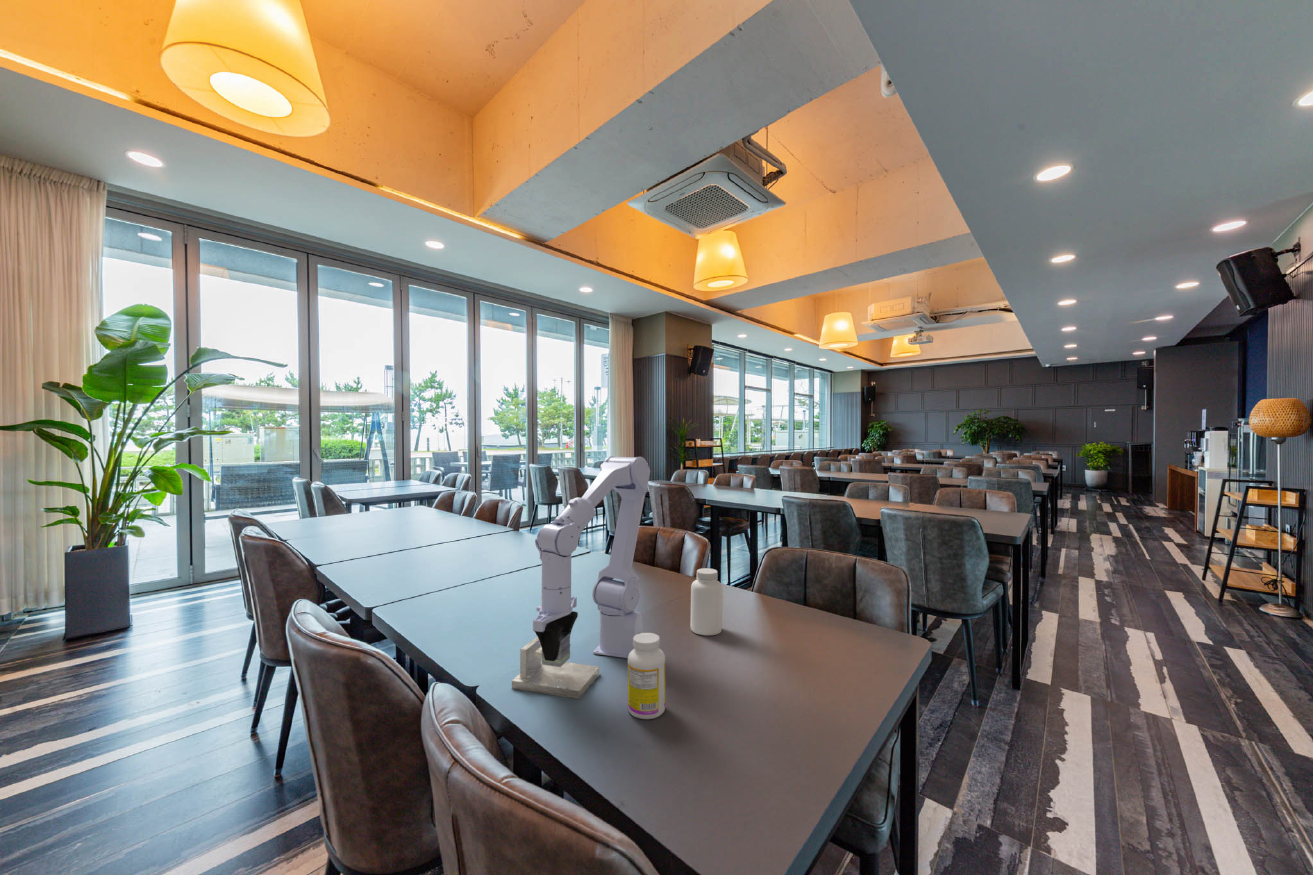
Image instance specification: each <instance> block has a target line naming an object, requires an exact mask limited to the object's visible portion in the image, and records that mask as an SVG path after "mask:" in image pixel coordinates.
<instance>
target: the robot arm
mask: <svg viewBox="0 0 1313 875" xmlns="http://www.w3.org/2000/svg"><path fill="white" fill-rule="evenodd" d="M599 469H600V470H599V473H598V474H597V476H596V477H595V478H594V480H593V481H592V483H591V484H590V485H589V487H588V488H587V490H586V491H585V492H584V494H583V495H582V496H581V497H574V498H571V499H570V500H569V501H568V504H567V505H566V507H565V508H564V509H563V510H562V511H561V512H560V513H559V514H558V516H556V517H555V518H554V520H553V521H552V523H547V524H545V525H543V526H542V528H541V529H539V531H538V533H537V536H536V539H534V543H535V547H536V549H537V550H538V552H539V559H540V561H541V604H539V605H538V606H536V608H535V609H536V612H538V613H537V615H536V617H535V619H533V621H532V632H534V633H535V634H536V637H538V638H539V641H540V643H541V647H542V651H543V655H544V658H545V660H547V661H555V660H556V657H557V652H558V643H559V638H560V635H561V632H565V633H570V635H571V634H572V631H573V627H574V625H575V622H576V621H577V618H578V616H579V612H577V611H573V609H574V608H576V607H577V605H578V604H577V602H578V601H577V600H578V599H577V596H572V554H573V553H574V552H575V551H576V550H577V547H578V545H579V539H580V538H581V535H582V532H583V531H584V530H585V529H586V527H587V526H588V524H589V523H590V522H591V521H592V520H593V518H594V517H595V514H596V510H595V508H596V506H598V504H600V503H601V501H602V500H603V499H604V498H605V497H607V495H608V494H609V493H610V492H611V491H612V490H614V491H615V492H616V493H618V495H619V497H620V498H621V501H620V504H619V511H618V516H617V523H616V527H615V531H614V538H613V542H612V547H611V552H610V558H609V563H608V565H607V566H605V567H604V568H603V569H601V570H600V571H599V573H598V577H597V579H596V582H595V583H594V586H593V588H592V600H593V602H594V603H595V605H597V610H599V645H597V647H595V649H594V650H593V651H592V653H593V654H594V655H602V656H609V657H617V658H624V659H628V656H629V653H630V652H631V651H632V650H633V649H635V648H634V645H633V638H634V636H635V635H637V634H640V633H643V626H644V624H643V615H642V613H641V612H639V611H635V609H636V608H637V606H638V604H639V602H640V596H641V595H640V581H641V579H640V577H639V576H638V575H637V574H636V572H635V571H634V570H633V569H632V568H633V563H634V562H633V561H634V556H635V550H636V546H637V540H638V536H639V530H640V525H641V519H642V515H643V514H642V513H643V507H644V502H645V497H646V494H647V491H648V486H649V481H650V474H651V469H650V467H649V464H648V462H647V460H646V459H645V458H644V457H643V456H635V457H628V456H613V455H610V456H608V457H606V458H605V459H604V462H602V463H601V464H600V466H599ZM620 580H621V581H620Z"/></svg>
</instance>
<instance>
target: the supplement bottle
mask: <svg viewBox="0 0 1313 875" xmlns="http://www.w3.org/2000/svg"><path fill="white" fill-rule="evenodd" d="M660 641H661V638H660V636H659V635H658V634H656V633H653V632H642V633H640V634H637V635H635V636H634V638H633V645H634V648H635V649H633V650H632V651H631V652H630V653H629V656H628V658H627V709H628V712H629V713H630V714H631V715H632V716H633V717H634V718H636V719H640V720H653V719H656V718H658V717H660V716H661V715H663V713H664V712H665V710H666V655H665V653H664V652H663V651H664V650H662V649H661V648H660V645H661V642H660Z"/></svg>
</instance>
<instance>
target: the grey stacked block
mask: <svg viewBox="0 0 1313 875" xmlns="http://www.w3.org/2000/svg"><path fill="white" fill-rule="evenodd" d="M570 658H571V634H570V633H565V632H561V635H560V638H559V643H558V652H557V657H556V660H555V661H547V660H545V658H544V655H543V651H542V658H541V661H542V665H549V666H556V667H561V666H562V665H563V664H564V663H565V662H568V661H569V660H570Z"/></svg>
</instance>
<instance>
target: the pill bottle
mask: <svg viewBox="0 0 1313 875" xmlns="http://www.w3.org/2000/svg"><path fill="white" fill-rule="evenodd" d="M718 575H719V574H718V570H717V569H714V568H708V567H707V568H706V567H705V568H703V567H702V568H699V569H697V570H696V579H695V580H694V581H692V583H691V586H690V624H689V625H690V630H691V631H692V632H693V633H695V634H698V635H700V636H716V635H719V634H720V633H721V632H722V630H723V629H722V628H723V597H724V596H723V591H724V589H723V587H724V586H723V585H722V583H721V582H720V581H719V580H718V579H719V578H718Z"/></svg>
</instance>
